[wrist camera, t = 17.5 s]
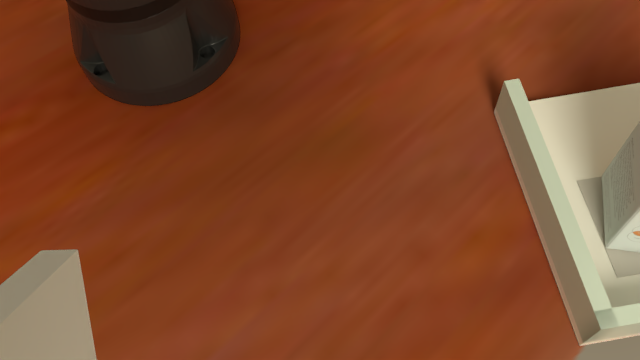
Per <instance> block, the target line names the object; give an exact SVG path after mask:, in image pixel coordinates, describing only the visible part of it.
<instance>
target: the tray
mask: <svg viewBox="0 0 640 360" xmlns="http://www.w3.org/2000/svg"><path fill="white" fill-rule="evenodd" d="M494 115H495V117H496V120H497V123H498V126H499V128H500V131H501V134H502V136H503V139H504V142H505V145H506V147H507V150H508V153H509V155H510V158H511V161H512V164H513V166H514V169H515V172H516V174H517V177H518V180H519V183H520V185H521V188H522V191H523V194H524V196H525V199H526V202H527V204H528V207H529V210H530V213H531V215H532V218H533V221H534V223H535V226H536V229H537V232H538V234H539V237H540V240H541V242H542V245H543V248H544V251H545V253H546V256H547V259H548V262H549V264H550V267H551V270H552V272H553V275H554V278H555V281H556V283H557V286H558V289H559V291H560V294H561V297H562V300H563V302H564V305H565V308H566V310H567V313H568V316H569V319H570V321H571V324H572V327H573V330H574V332H575V335H576V338H577V340H578V343H579V346H582V345H587V344H593V343H599V342H604V341H609V340H615V339H621V338H626V337H632V336H638V335H640V253H639V252H632V251H624V250H617V249H609V248H606V247H605V233H604V213H603V195H602V179H601V178H602V175H603V173H604V172H605V170H606V169H607V167H608V166H609V165H610V163H611V162H612V160H613V159H614V157H615V156H616V154H617V153H618V151H619V150H620V149H621V147H622V146H623V144H624V143H625V141H626V140H627V139H628V137H629V136H630V134H631V133H632V131H633V130H634V129H635V127H636V126H637V124H638V123H639V121H640V83H636V84H630V85H624V86H618V87H612V88H606V89H600V90H594V91H588V92H582V93H576V94H570V95H564V96H558V97H552V98H546V99H540V100H535V101H529V102H528V99H527V97H526V94H525V92H524V89H523V87H522V85H521V82H520V80H519V79H514V80H508V81H504V83H503V86H502V89H501V92H500V95H499V98H498V101H497V104H496V107H495V110H494Z"/></svg>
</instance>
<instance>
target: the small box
mask: <svg viewBox="0 0 640 360" xmlns="http://www.w3.org/2000/svg"><path fill="white" fill-rule="evenodd" d="M601 179H602V195H603V213H604V233H605V247H606V248H609V249H617V250H624V251H632V252H639V253H640V121H639V123H638V124H637V126H636V127H635V129H634V130H633V131H632V133H631V134H630V136H629V137H628V139H627V140H626V141H625V143H624V144H623V146H622V147H621V149H620V150H619V151H618V153H617V154H616V156H615V157H614V159H613V160H612V162H611V163H610V165H609V166H608V167H607V169H606V170H605V172H604V173H603V175H602V178H601Z"/></svg>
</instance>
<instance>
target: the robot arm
mask: <svg viewBox="0 0 640 360" xmlns="http://www.w3.org/2000/svg"><path fill="white" fill-rule="evenodd" d="M66 1H67V4H68V12H69V19H70V27H71V35H72V42H73V49H74V52H75V55H76V58H77V60H78V63H79V64H80V66H81V68H82V69H83V71H84V73H85V74H86V76H87V77H88V79H89V80H90V82H91V83H92V84H93V85H94V87H96V88H97V89H98V90H99V91H100V92H102V93H103V94H105V95H106V96H108V97H110V98H112V99H114V100H117V101H120V102H123V103H127V104H132V105H142V106H152V105H162V104H168V103H172V102H176V101H179V100H182V99H185V98H188V97H190V96H192V95H194V94H196V93H198V92H200V91H202V90H203V89H205V88H206V87H208V86H209V85H211V84H212V83H213V82H214V81H216V80H217V79H218V78H219V77H220V76H221V75H222V74H223V73H224V72H225V70H226V69H227V68H228V66H229V65H230V64H231V62H232V60H233V58H234V57H235V54H236V52H237V49H238V46H239V41H240V26H239V21H238V17H237V13H236V9H235V6H234V3H233V1H232V0H66ZM0 360H97V359H96V354H95V348H94V342H93V336H92V330H91V324H90V318H89V312H88V307H87V301H86V295H85V289H84V283H83V277H82V271H81V266H80V260H79V254H78V250H44V251H40V252H39V253H38V254H37V255H35V256H34V257H33V258H32V259H31V260H30V261H28V262H27V263H26V264H25V265H24V266H22V267H21V268H20V269H19V270H18V271H16V272H15V273H14V274H13V275H12V276H11V277H9V278H8V279H7V280H6V281H5V282H3V283H2V284H1V285H0Z"/></svg>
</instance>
